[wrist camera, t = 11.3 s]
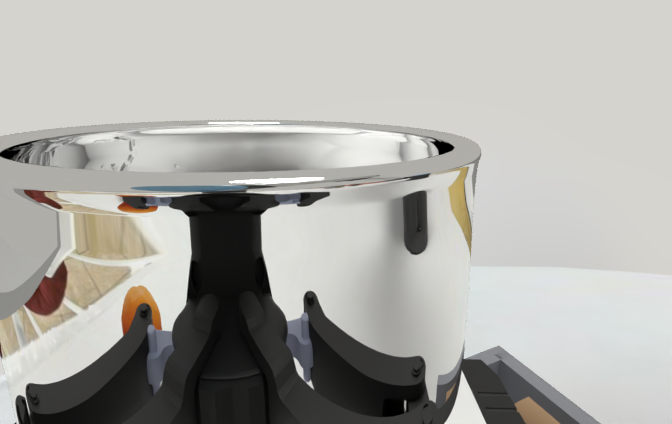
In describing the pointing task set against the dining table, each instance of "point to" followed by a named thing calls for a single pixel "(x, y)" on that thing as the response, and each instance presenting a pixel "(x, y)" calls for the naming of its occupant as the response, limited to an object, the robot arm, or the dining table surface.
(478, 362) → the robot arm
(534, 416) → the walnut block
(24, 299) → the beer glass
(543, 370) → the dining table surface
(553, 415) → the tray
